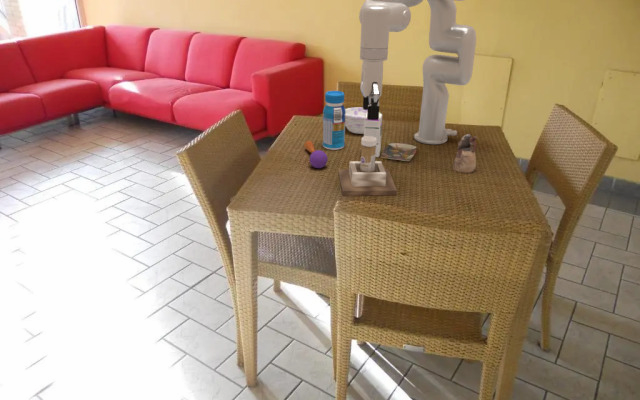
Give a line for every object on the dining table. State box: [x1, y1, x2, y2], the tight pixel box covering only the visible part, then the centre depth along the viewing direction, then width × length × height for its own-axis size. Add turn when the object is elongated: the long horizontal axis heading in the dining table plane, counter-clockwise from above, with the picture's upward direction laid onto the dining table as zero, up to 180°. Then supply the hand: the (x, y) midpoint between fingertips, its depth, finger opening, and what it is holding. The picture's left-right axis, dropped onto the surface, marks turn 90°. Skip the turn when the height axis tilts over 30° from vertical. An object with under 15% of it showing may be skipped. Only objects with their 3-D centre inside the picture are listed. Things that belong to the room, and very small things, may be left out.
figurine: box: [452, 133, 478, 174], centre depth 158 cm, size 7×7×12 cm
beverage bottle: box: [322, 90, 346, 151], centre depth 174 cm, size 8×8×20 cm
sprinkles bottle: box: [360, 135, 377, 172], centre depth 146 cm, size 5×5×13 cm
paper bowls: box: [345, 106, 381, 135], centre depth 194 cm, size 15×15×8 cm
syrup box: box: [363, 112, 383, 158], centre depth 169 cm, size 6×6×14 cm
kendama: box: [303, 140, 329, 169], centre depth 167 cm, size 6×6×20 cm
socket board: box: [338, 160, 398, 197], centre depth 149 cm, size 16×16×6 cm
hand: (370, 114), depth 140 cm, fingers open, 9 cm apart
